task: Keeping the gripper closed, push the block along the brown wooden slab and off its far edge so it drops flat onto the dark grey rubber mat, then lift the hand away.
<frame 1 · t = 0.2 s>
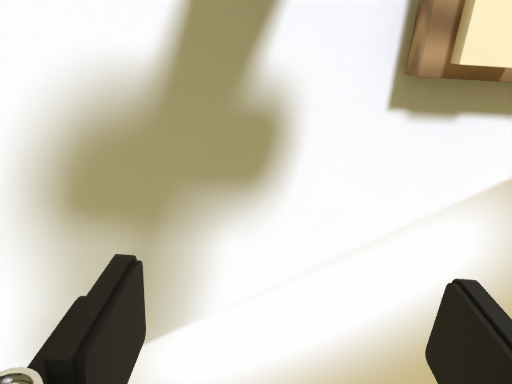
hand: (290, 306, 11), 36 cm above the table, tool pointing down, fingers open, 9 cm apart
block: (497, 17, 36), point 5 cm above the table, touching brown wooden slab
brown wooden slab: (488, 21, 41), on the table
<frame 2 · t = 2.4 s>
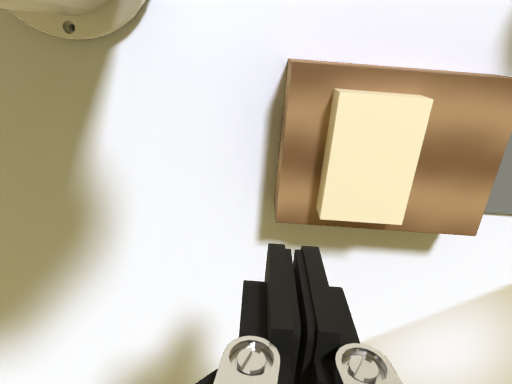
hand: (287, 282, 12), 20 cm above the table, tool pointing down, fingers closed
block: (369, 158, 26), point 5 cm above the table, touching brown wooden slab
brown wooden slab: (376, 142, 31), on the table
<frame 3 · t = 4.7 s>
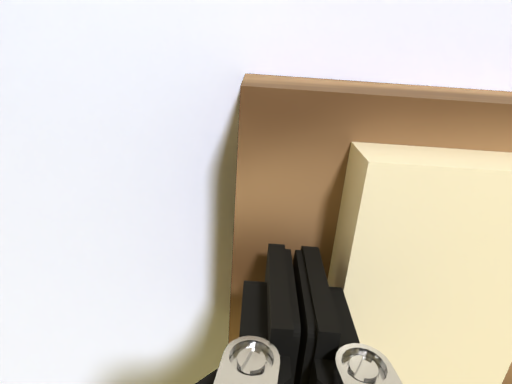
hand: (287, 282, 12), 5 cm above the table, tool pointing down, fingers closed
block: (424, 286, 12), point 5 cm above the table, touching brown wooden slab, gripper
brown wooden slab: (412, 221, 17), on the table
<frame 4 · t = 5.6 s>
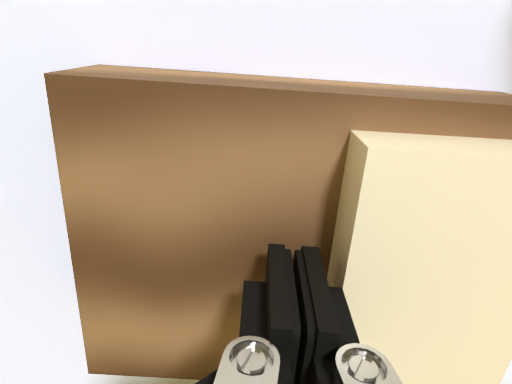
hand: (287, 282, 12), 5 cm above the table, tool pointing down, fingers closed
block: (426, 276, 12), point 5 cm above the table, touching brown wooden slab, gripper
brown wooden slab: (286, 214, 17), on the table
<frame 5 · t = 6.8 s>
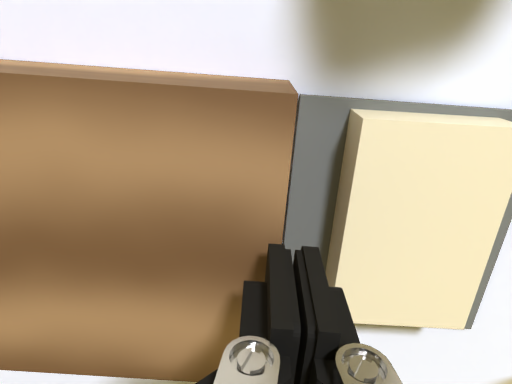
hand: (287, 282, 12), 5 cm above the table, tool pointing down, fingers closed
block: (410, 224, 16), point 1 cm above the table, tilted 180°, touching mat
brown wooden slab: (100, 204, 17), on the table
mat: (394, 224, 17), on the table
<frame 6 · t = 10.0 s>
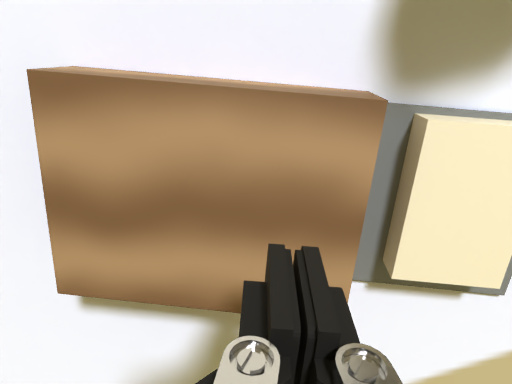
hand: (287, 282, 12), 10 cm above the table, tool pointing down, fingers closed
block: (458, 203, 20), point 1 cm above the table, tilted 180°, touching mat
brown wooden slab: (214, 183, 22), on the table
mat: (443, 205, 22), on the table
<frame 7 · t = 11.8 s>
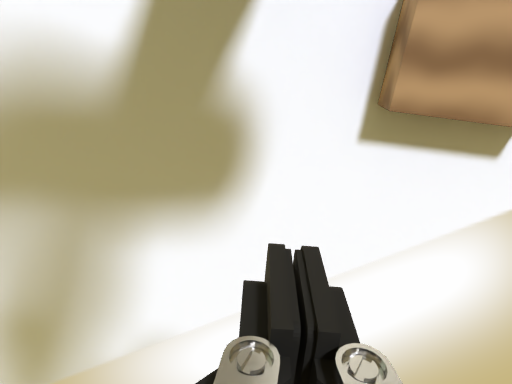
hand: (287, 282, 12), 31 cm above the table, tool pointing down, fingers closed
brown wooden slab: (468, 55, 38), on the table
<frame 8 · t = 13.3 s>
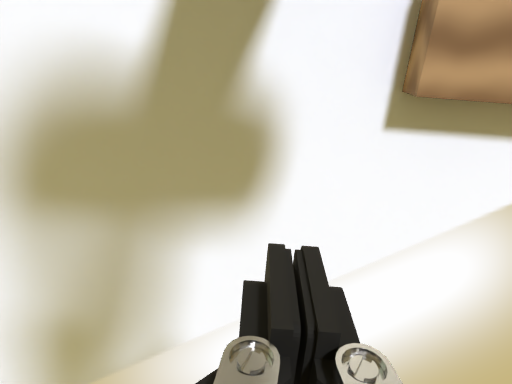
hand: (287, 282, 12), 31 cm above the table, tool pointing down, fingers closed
brown wooden slab: (492, 37, 38), on the table
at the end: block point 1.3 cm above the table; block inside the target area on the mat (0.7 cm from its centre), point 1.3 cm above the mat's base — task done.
